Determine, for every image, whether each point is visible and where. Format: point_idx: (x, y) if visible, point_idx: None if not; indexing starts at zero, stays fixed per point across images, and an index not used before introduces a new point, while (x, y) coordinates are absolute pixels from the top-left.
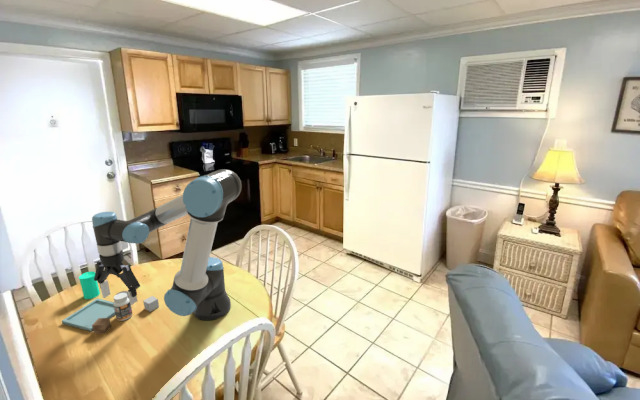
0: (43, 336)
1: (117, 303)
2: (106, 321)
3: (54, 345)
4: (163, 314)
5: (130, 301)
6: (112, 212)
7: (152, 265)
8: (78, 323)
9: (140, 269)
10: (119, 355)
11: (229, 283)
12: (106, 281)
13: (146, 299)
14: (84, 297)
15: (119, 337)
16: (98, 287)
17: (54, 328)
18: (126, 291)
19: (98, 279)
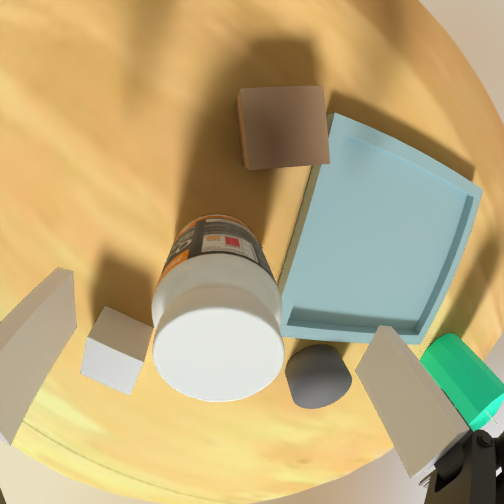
0: (482, 114)
1: (217, 282)
2: (245, 131)
3: (420, 45)
4: None
5: (45, 287)
6: None
7: (305, 483)
8: (422, 163)
9: (334, 469)
10: (68, 3)
11: None
12: (418, 468)
13: (134, 371)
14: (457, 336)
15: (127, 85)
16: None
17: (479, 158)
18: (312, 407)
19: (490, 455)
